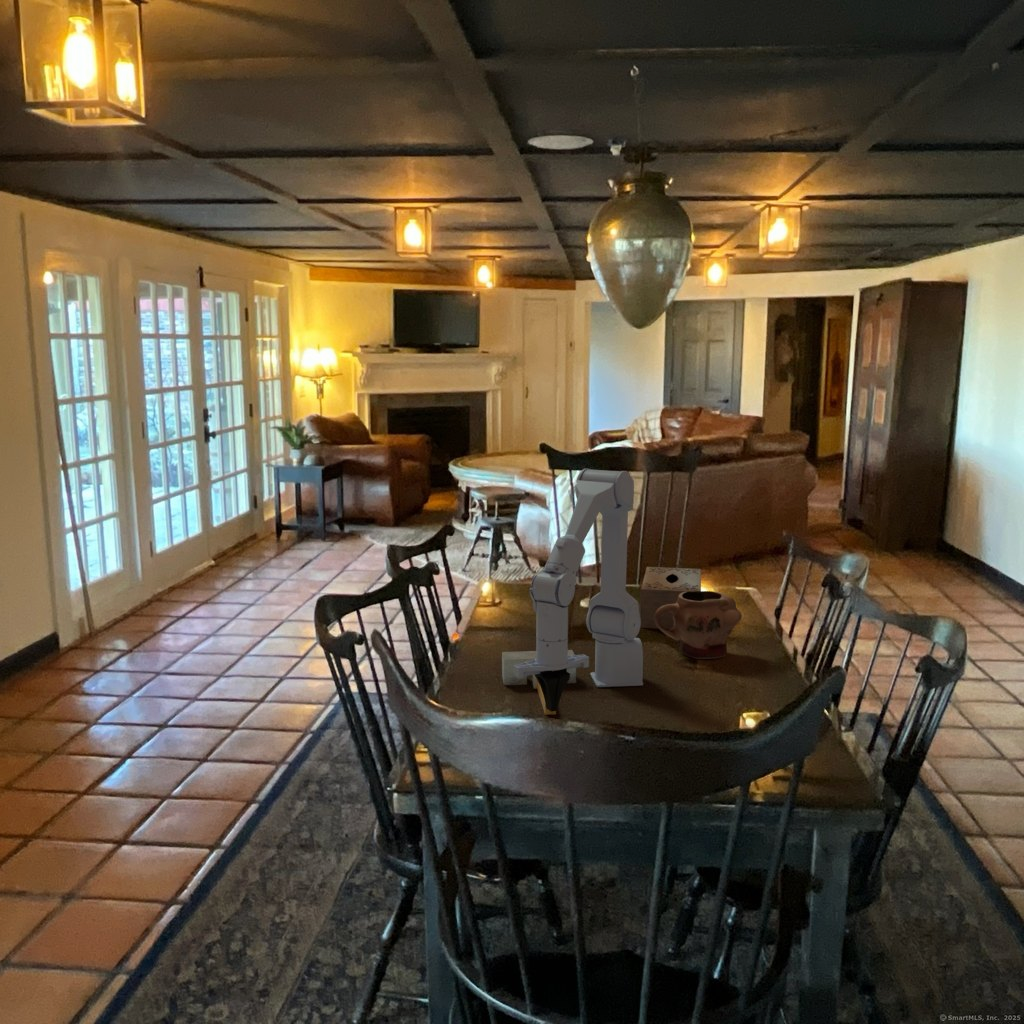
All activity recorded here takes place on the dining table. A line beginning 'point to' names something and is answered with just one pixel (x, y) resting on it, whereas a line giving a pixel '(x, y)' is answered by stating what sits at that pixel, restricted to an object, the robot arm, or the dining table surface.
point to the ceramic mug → (701, 622)
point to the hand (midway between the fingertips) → (551, 709)
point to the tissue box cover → (665, 592)
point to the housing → (521, 657)
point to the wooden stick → (541, 696)
